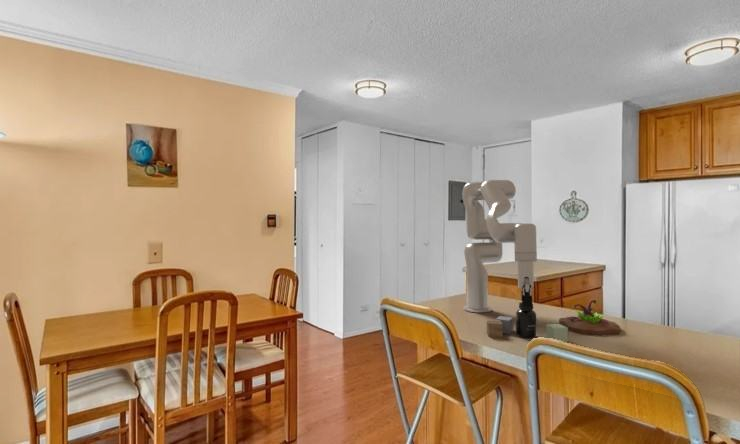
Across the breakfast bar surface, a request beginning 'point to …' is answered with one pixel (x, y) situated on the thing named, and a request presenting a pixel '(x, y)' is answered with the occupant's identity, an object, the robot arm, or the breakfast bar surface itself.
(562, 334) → the sage cube
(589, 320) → the plant
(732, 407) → the breakfast bar surface
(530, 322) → the supplement bottle
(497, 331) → the walnut cube
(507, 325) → the slate cube
